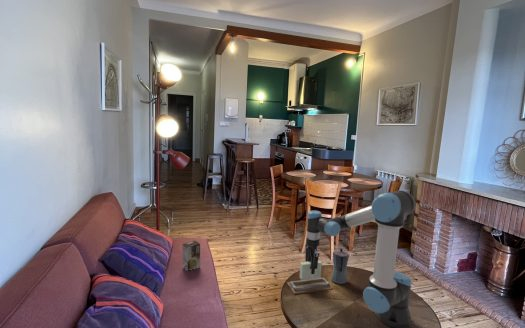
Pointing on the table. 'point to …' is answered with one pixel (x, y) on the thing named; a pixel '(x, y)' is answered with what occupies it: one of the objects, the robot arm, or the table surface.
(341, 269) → the moka pot
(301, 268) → the pale green block
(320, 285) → the grey rectangular tray
